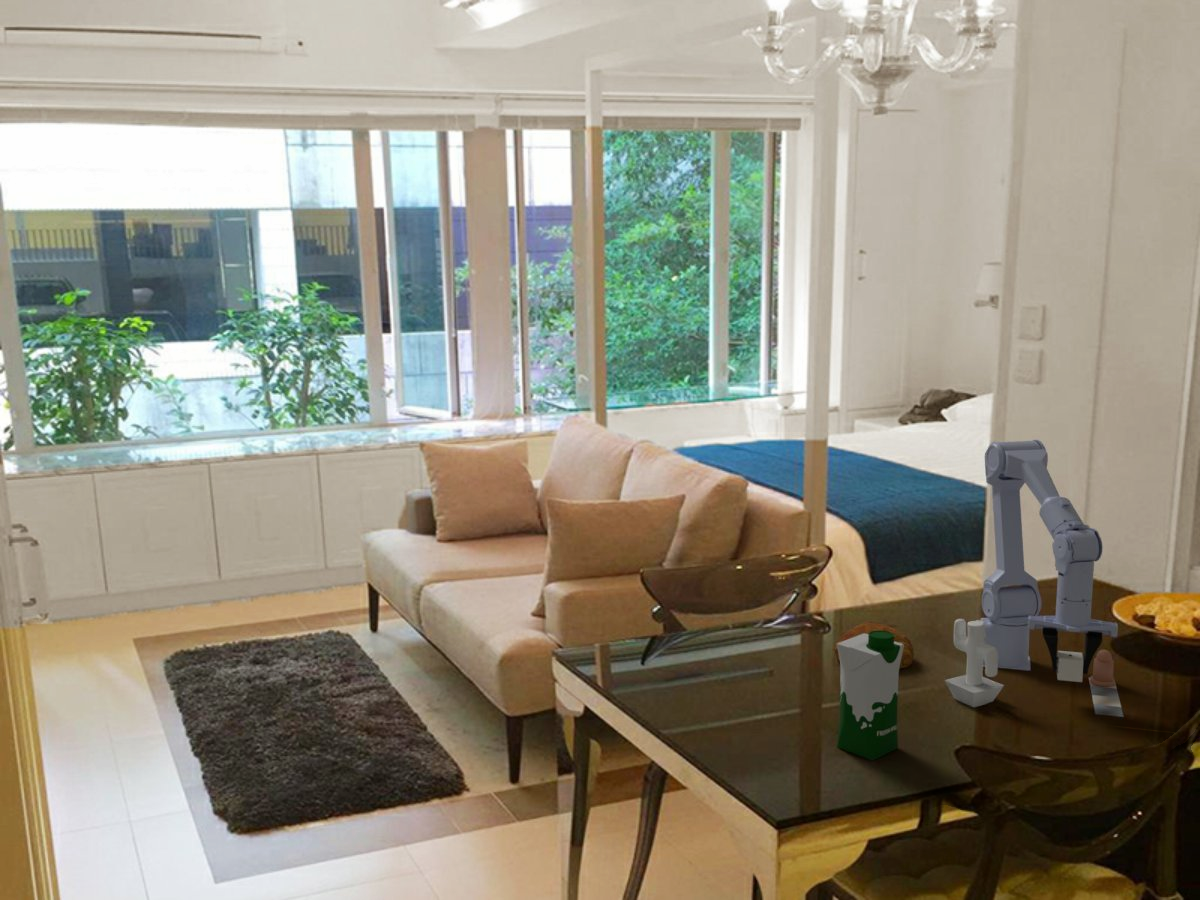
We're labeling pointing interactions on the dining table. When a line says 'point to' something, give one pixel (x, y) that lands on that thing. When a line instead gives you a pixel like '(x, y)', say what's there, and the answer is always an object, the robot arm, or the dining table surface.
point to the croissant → (871, 626)
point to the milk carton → (869, 694)
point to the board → (1106, 700)
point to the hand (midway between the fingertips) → (1069, 670)
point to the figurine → (975, 665)
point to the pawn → (1103, 670)
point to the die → (1070, 666)
